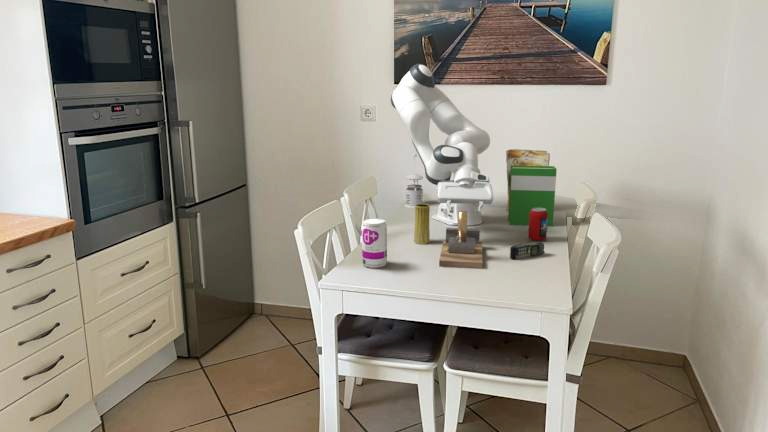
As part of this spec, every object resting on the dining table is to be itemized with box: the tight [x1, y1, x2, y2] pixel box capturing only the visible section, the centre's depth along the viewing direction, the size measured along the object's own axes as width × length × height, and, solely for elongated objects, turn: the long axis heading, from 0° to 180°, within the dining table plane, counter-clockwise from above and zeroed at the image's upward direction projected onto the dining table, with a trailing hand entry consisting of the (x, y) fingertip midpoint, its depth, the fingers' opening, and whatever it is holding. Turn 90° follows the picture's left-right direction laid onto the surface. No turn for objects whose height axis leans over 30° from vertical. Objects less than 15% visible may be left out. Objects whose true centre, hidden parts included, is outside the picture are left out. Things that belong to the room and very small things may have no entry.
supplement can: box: [361, 217, 388, 269], centre depth 191 cm, size 8×8×15 cm
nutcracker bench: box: [438, 227, 483, 269], centre depth 200 cm, size 24×14×7 cm, turn 171°
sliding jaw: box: [448, 211, 475, 253], centre depth 198 cm, size 6×9×14 cm, turn 81°
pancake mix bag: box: [505, 148, 551, 211], centre depth 261 cm, size 7×19×28 cm, turn 71°
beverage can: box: [527, 207, 548, 242], centre depth 218 cm, size 7×7×12 cm
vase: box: [413, 203, 431, 245], centre depth 216 cm, size 6×6×14 cm
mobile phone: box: [509, 241, 545, 261], centre depth 200 cm, size 5×3×15 cm
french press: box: [403, 153, 424, 209], centre depth 273 cm, size 10×12×25 cm
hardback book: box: [507, 165, 557, 227], centre depth 240 cm, size 18×7×24 cm, turn 82°
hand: (464, 212), depth 209 cm, fingers open, 8 cm apart
